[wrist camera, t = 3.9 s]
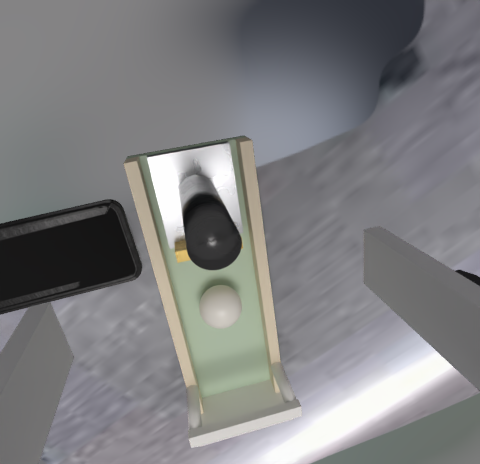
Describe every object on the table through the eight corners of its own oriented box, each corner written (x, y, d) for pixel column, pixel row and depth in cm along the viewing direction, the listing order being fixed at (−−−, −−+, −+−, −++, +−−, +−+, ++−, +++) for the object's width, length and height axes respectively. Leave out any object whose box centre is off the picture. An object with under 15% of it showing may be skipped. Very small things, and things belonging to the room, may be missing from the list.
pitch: (126, 156, 29) (110, 181, 21) (244, 135, 30) (274, 151, 22) (192, 397, 40) (200, 475, 32) (277, 374, 41) (305, 444, 33)
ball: (193, 282, 33) (197, 306, 29) (234, 273, 33) (242, 295, 30) (201, 316, 35) (205, 342, 31) (240, 306, 35) (248, 331, 31)
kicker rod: (147, 155, 28) (135, 196, 17) (227, 140, 28) (266, 170, 18) (170, 249, 31) (174, 333, 20) (241, 233, 32) (281, 307, 21)
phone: (-71, 243, 28) (117, 200, 29) (-63, 237, 29) (119, 196, 30) (-24, 321, 31) (144, 278, 32) (-17, 314, 32) (145, 273, 33)
